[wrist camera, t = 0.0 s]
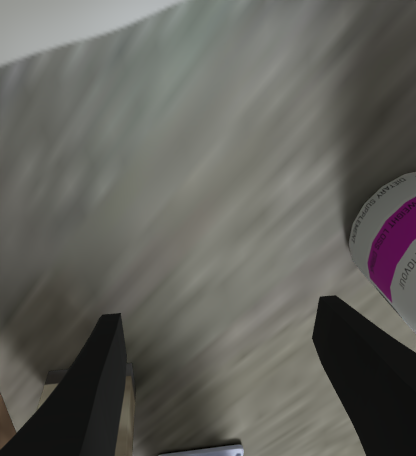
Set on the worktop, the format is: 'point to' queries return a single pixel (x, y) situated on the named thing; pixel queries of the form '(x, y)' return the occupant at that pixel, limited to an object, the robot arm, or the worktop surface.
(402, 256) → the supplement can
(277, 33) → the worktop surface
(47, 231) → the worktop surface
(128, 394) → the peg
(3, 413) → the holder
